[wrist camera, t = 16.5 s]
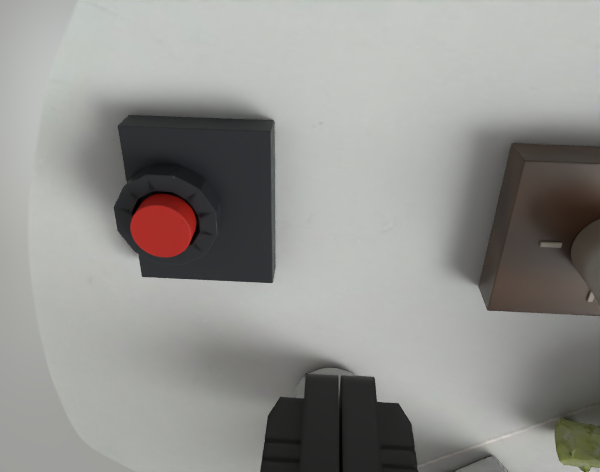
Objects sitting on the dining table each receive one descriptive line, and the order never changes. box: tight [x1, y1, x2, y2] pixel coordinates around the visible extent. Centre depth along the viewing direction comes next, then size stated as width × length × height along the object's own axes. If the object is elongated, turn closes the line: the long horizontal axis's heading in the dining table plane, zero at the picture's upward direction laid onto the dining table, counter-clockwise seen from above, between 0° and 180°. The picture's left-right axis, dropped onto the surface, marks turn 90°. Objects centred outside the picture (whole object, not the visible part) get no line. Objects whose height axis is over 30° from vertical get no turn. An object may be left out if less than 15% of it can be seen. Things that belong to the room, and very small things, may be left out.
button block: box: [114, 115, 275, 283], centre depth 38 cm, size 12×10×4 cm
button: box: [130, 193, 196, 257], centre depth 36 cm, size 4×4×2 cm
